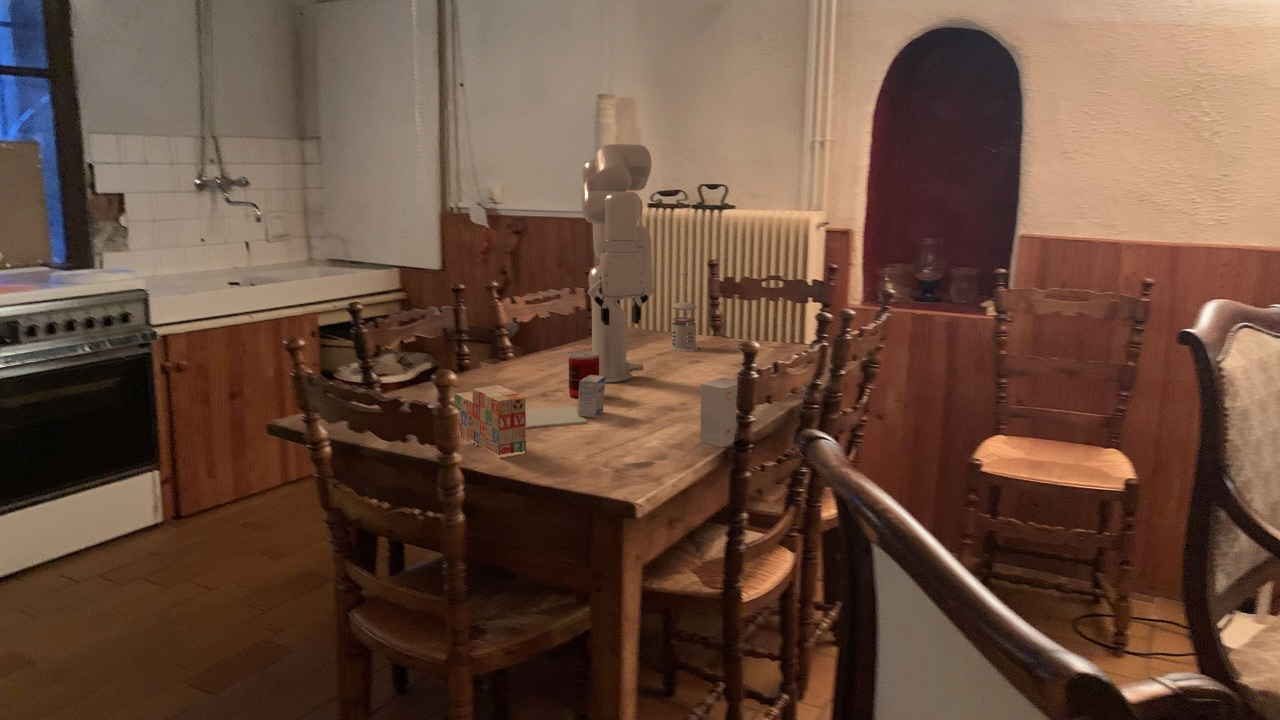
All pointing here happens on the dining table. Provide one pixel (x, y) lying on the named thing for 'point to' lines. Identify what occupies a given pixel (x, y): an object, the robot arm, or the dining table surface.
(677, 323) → the grey lantern
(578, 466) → the dining table surface
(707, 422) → the small box
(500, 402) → the stack of blocks
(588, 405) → the medicine box
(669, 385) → the dining table surface
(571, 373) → the canned food
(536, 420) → the mat
